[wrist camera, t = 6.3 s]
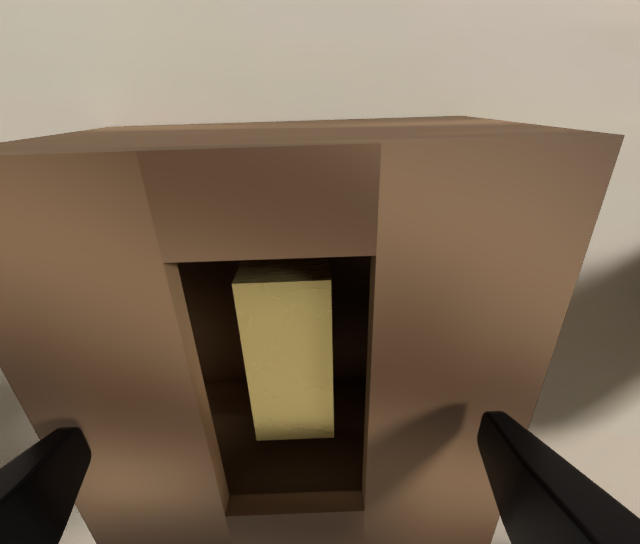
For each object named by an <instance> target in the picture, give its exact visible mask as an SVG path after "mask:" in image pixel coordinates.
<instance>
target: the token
mask: <svg viewBox="0 0 640 544" xmlns="http://www.w3.org/2000/svg"><path fill="white" fill-rule="evenodd" d="M232 289H233V295H234V301H235V308H236V314H237V320H238V327H239V333H240V339H241V345H242V352H243V358H244V364H245V371H246V377H247V383H248V390H249V396H250V402H251V408H252V415H253V421H254V427H255V434H256V440H257V441H262V440H287V439H311V438H334V405H333V352H332V299H331V274H330V265H329V257H321V258H292V259H264V260H242V261H241V263H240V266H239V268H238V270H237V273H236V275H235V277H234V280H233V282H232Z"/></svg>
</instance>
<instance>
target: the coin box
mask: <svg viewBox="0 0 640 544" xmlns="http://www.w3.org/2000/svg"><path fill="white" fill-rule="evenodd" d="M624 136H625V135H617V134H609V133H600V132H592V131H584V130H575V129H567V128H559V127H550V126H542V125H534V124H525V123H517V122H509V121H500V120H492V119H484V118H475V117H467V116H442V117H411V118H379V119H347V120H316V121H284V122H252V123H220V124H189V125H157V126H125V127H105V128H99V129H92V130H85V131H78V132H71V133H64V134H57V135H50V136H43V137H36V138H29V139H22V140H15V141H9V142H2V143H0V367H1V369H2V371H3V373H4V375H5V377H6V378H7V380H8V382H9V384H10V386H11V388H12V389H13V391H14V393H15V395H16V397H17V399H18V400H19V402H20V404H21V406H22V408H23V410H24V411H25V413H26V415H27V417H28V419H29V421H30V422H31V424H32V426H33V428H34V430H35V432H36V433H37V435H38V437H39V439H40V440H41V439H43V438H44V437H45V436H47V435H48V434H50V433H51V432H52V431H54V430H56V429H57V428H60V427H79V428H80V429H81V430H82V431H83V434H84V436H85V438H86V440H87V442H88V444H89V447H90V449H91V453H92V456H91V462H90V465H89V467H88V470H87V472H86V475H85V478H84V480H83V483H82V485H81V488H80V491H79V493H78V496H77V498H76V501H75V505H76V507H77V509H78V510H79V512H80V514H81V516H82V518H83V520H84V521H85V523H86V525H87V527H88V529H89V531H90V532H91V534H92V536H93V538H94V540H95V542H96V543H97V544H491V541H492V537H493V534H494V531H495V528H496V525H497V522H498V519H499V516H500V513H499V511H498V508H497V504H496V501H495V498H494V495H493V492H492V489H491V486H490V483H489V480H488V476H487V473H486V470H485V467H484V464H483V461H482V458H481V455H480V451H479V448H478V444H477V434H478V430H479V426H480V422H481V418H482V415H483V413H484V412H486V411H503V412H505V413H507V414H508V415H509V416H510V417H512V418H513V419H514V420H516V421H517V422H518V423H519V424H521V425H522V426H523V427H524V428H526V429H527V430H528V428H529V425H530V422H531V419H532V416H533V413H534V410H535V407H536V404H537V401H538V397H539V394H540V391H541V388H542V385H543V382H544V379H545V376H546V373H547V370H548V367H549V364H550V361H551V358H552V355H553V352H554V349H555V346H556V343H557V340H558V337H559V334H560V331H561V327H562V324H563V321H564V318H565V315H566V312H567V309H568V306H569V303H570V300H571V297H572V294H573V291H574V288H575V285H576V282H577V279H578V276H579V273H580V270H581V267H582V264H583V260H584V257H585V254H586V251H587V248H588V245H589V242H590V239H591V236H592V233H593V230H594V227H595V224H596V221H597V218H598V215H599V212H600V209H601V206H602V203H603V200H604V197H605V194H606V190H607V187H608V184H609V181H610V178H611V175H612V172H613V169H614V166H615V163H616V160H617V157H618V154H619V151H620V148H621V145H622V142H623V139H624ZM321 257H329V265H330V274H331V299H332V352H333V405H334V438H311V439H287V440H262V441H257V440H256V434H255V427H254V421H253V415H252V408H251V402H250V396H249V390H248V383H247V377H246V371H245V364H244V358H243V352H242V345H241V339H240V333H239V327H238V320H237V314H236V308H235V301H234V295H233V289H232V282H233V280H234V277H235V275H236V273H237V270H238V268H239V266H240V263H241V261H242V260H264V259H292V258H321Z"/></svg>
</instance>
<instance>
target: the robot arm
mask: <svg viewBox="0 0 640 544" xmlns="http://www.w3.org/2000/svg"><path fill="white" fill-rule="evenodd" d="M477 444H478V448H479V451H480V455H481V458H482V461H483V464H484V467H485V470H486V473H487V476H488V480H489V483H490V486H491V489H492V492H493V495H494V498H495V501H496V504H497V508H498V511H499V513H500V516H501V519H502V522H503V524H504V527H505V529H506V532H507V534H508V537H509V539H510V541H511V544H640V518H638V517H637V516H636V515H635V514H633V513H632V512H631V511H630V510H628V509H627V508H626V507H625V506H623V505H622V504H621V503H619V502H618V501H617V500H616V499H614V498H613V497H612V496H611V495H609V494H608V493H607V492H605V491H604V490H603V489H602V488H600V487H599V486H598V485H597V484H595V483H594V482H593V481H592V480H590V479H589V478H588V477H586V476H585V475H584V474H583V473H581V472H580V471H579V470H578V469H576V468H575V467H574V466H573V465H571V464H570V463H569V462H567V461H566V460H565V459H564V458H562V457H561V456H560V455H559V454H557V453H556V452H555V451H554V450H552V449H551V448H550V447H548V446H547V445H546V444H545V443H543V442H542V441H541V440H540V439H538V438H537V437H536V436H535V435H533V434H532V433H531V432H529V431H528V430H527V429H526V428H524V427H523V426H522V425H521V424H519V423H518V422H517V421H516V420H514V419H513V418H512V417H510V416H509V415H508V414H507V413H505V412H503V411H486V412H484V413H483V415H482V418H481V422H480V426H479V430H478V434H477ZM91 456H92V453H91V449H90V447H89V444H88V442H87V440H86V438H85V436H84V434H83V431H82V430H81V429H80V428H79V427H60V428H57V429H56V430H54V431H52V432H51V433H50V434H48V435H47V436H45V437H44V438H43V439H41V440H40V441H38V442H37V443H36V444H34V445H33V446H31V447H30V448H29V449H27V450H26V451H24V452H23V453H22V454H20V455H19V456H17V457H16V458H14V459H13V460H12V461H10V462H9V463H7V464H6V465H5V466H3V467H2V468H0V544H58V543H59V541H60V539H61V537H62V534H63V532H64V529H65V527H66V525H67V522H68V519H69V517H70V514H71V512H72V509H73V506H74V504H75V501H76V498H77V496H78V493H79V491H80V488H81V485H82V483H83V480H84V478H85V475H86V472H87V470H88V467H89V465H90V462H91Z"/></svg>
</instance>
